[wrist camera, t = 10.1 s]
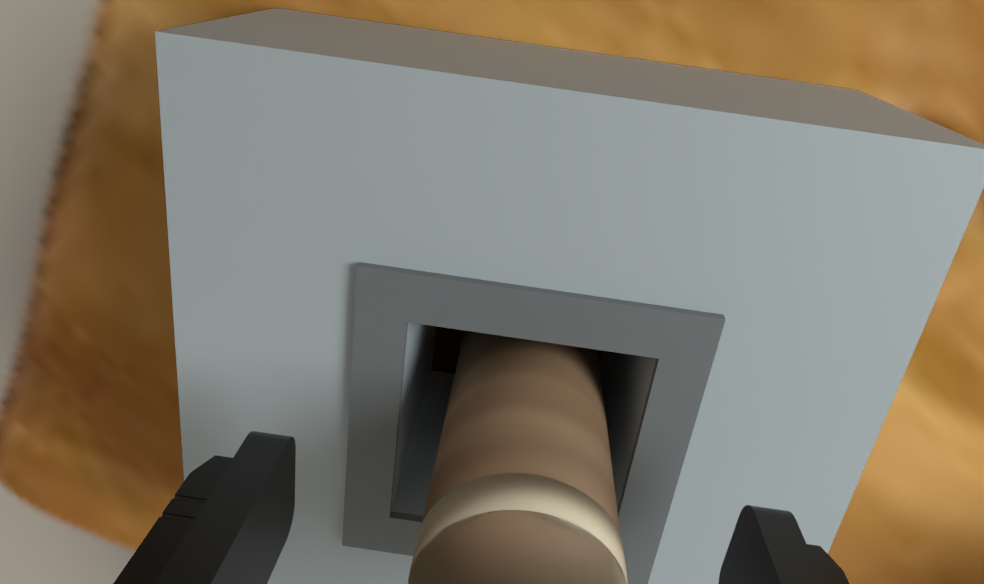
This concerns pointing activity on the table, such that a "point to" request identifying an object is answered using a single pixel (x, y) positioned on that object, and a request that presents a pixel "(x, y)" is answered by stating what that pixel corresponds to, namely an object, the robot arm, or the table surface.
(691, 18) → the table surface
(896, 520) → the table surface
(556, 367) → the dowel
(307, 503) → the socket block
